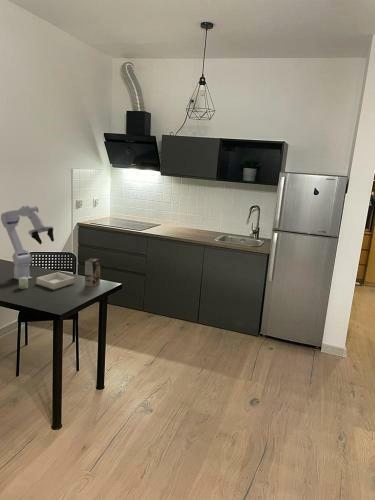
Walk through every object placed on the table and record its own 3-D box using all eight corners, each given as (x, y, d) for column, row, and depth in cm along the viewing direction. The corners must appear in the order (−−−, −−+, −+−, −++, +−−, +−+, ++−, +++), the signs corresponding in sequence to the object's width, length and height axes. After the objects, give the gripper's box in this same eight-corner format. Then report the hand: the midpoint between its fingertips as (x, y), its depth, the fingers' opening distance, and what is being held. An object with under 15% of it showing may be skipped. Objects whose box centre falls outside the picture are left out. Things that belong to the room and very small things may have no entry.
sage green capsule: (17, 287, 219) (16, 278, 218) (24, 285, 224) (24, 276, 222) (22, 289, 217) (22, 280, 215) (29, 287, 221) (29, 278, 220)
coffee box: (94, 286, 229) (94, 262, 225) (84, 285, 230) (84, 261, 226) (100, 282, 238) (100, 258, 234) (91, 281, 239) (91, 257, 235)
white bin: (36, 283, 228) (36, 277, 227) (57, 278, 241) (57, 272, 240) (53, 289, 220) (53, 283, 219) (74, 283, 233) (74, 277, 232)
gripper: (27, 221, 209) (37, 241, 206) (50, 217, 219) (60, 236, 216) (24, 228, 214) (33, 247, 211) (47, 224, 224) (56, 242, 221)
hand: (47, 242), depth 214 cm, fingers open, 7 cm apart
